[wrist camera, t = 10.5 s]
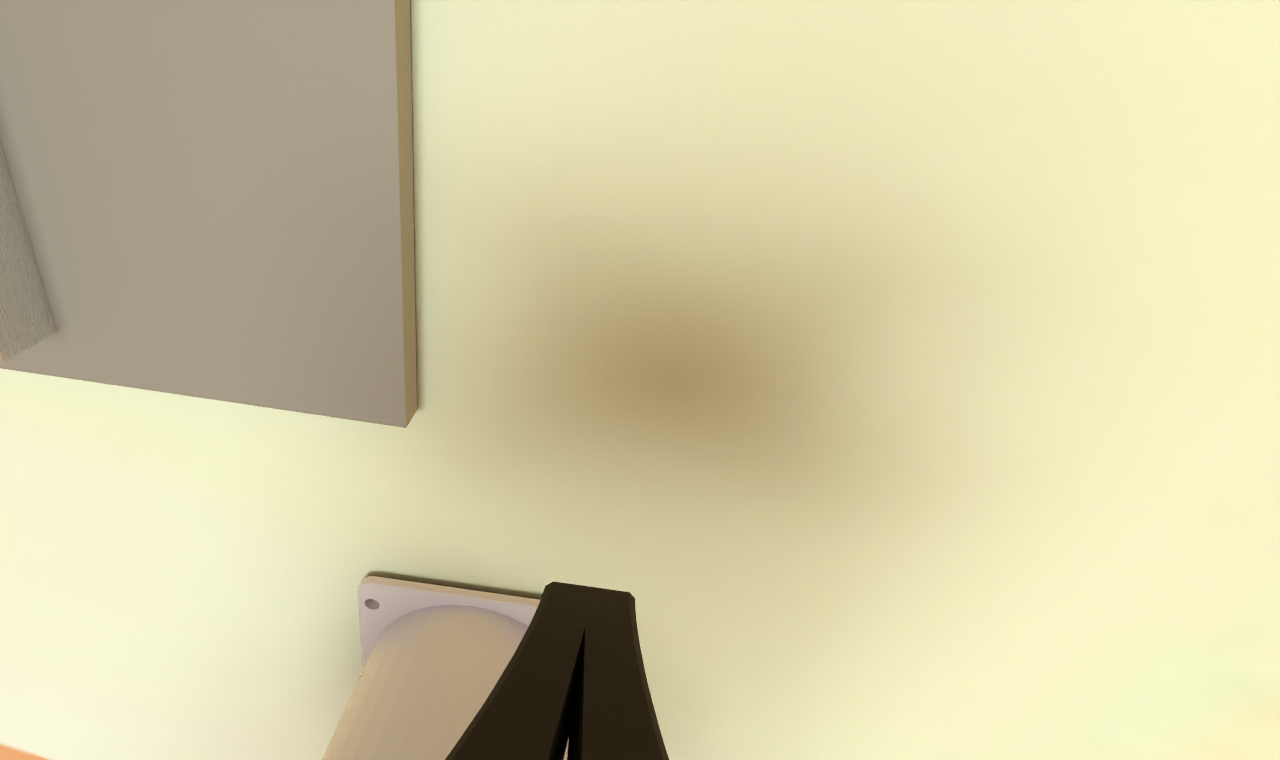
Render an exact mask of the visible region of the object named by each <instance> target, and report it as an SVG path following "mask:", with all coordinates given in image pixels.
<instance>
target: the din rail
mask: <svg viewBox="0 0 1280 760" xmlns="http://www.w3.org/2000/svg"><path fill="white" fill-rule="evenodd" d="M57 332H58V330H57V327H56V324H55V320H54V317H53V313H52V310H51V307H50V303H49V300H48V296H47V293H46V290H45V286H44V283H43V280H42V276H41V273H40V269H39V266H38V263H37V259H36V256H35V252H34V249H33V246H32V242H31V239H30V235H29V232H28V229H27V225H26V222H25V219H24V215H23V212H22V208H21V205H20V202H19V198H18V195H17V191H16V188H15V185H14V181H13V178H12V174H11V171H10V168H9V164H8V161H7V158H6V154H5V151H4V147H3V144H2V141H1V137H0V362H5V361H7V360H9V359H10V358H12V357H14V356H16V355H18V354H19V353H21V352H23V351H25V350H27V349H28V348H30V347H32V346H34V345H35V344H37V343H39V342H41V341H43V340H44V339H46V338H48V337H50V336H51V335H53V334H55V333H57Z"/></svg>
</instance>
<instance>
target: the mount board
mask: <svg viewBox="0 0 1280 760" xmlns="http://www.w3.org/2000/svg"><path fill="white" fill-rule="evenodd" d="M0 137H1V141H2V144H3V147H4V151H5V154H6V158H7V161H8V164H9V168H10V171H11V174H12V178H13V181H14V185H15V188H16V191H17V195H18V198H19V202H20V205H21V208H22V212H23V215H24V219H25V222H26V225H27V229H28V232H29V235H30V239H31V242H32V246H33V249H34V252H35V256H36V259H37V263H38V266H39V269H40V273H41V276H42V280H43V283H44V286H45V290H46V293H47V296H48V300H49V303H50V307H51V310H52V313H53V317H54V320H55V324H56V327H57V330H58V332H57V333H55V334H53V335H51V336H50V337H48V338H46V339H44V340H43V341H41V342H39V343H37V344H35V345H34V346H32V347H30V348H28V349H27V350H25V351H23V352H21V353H19V354H18V355H16V356H14V357H12V358H10V359H9V360H7V361H5V362H0V368H2V369H9V370H16V371H23V372H30V373H37V374H43V375H50V376H57V377H64V378H71V379H77V380H84V381H91V382H98V383H105V384H112V385H118V386H125V387H132V388H139V389H146V390H152V391H159V392H166V393H173V394H180V395H187V396H193V397H200V398H207V399H214V400H221V401H227V402H234V403H241V404H248V405H255V406H262V407H268V408H275V409H282V410H289V411H296V412H302V413H309V414H316V415H323V416H330V417H337V418H343V419H350V420H357V421H364V422H371V423H377V424H384V425H391V426H398V427H405V428H406V427H407V425H408V424H409V422H410V420H411V419H412V417H413V415H414V414H415V412H416V411H417V370H416V311H415V251H414V192H413V133H412V74H411V15H410V0H0Z"/></svg>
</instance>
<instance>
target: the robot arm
mask: <svg viewBox="0 0 1280 760" xmlns="http://www.w3.org/2000/svg"><path fill="white" fill-rule="evenodd" d="M372 599H374V600H372ZM375 600H376V601H375ZM358 603H359V616H360V629H361V642H362V654H363V667H364V670H363V672H362V675H361V677H360V679H359V681H358V683H357V685H356V688H355V690H354V692H353V694H352V696H351V698H350V701H349V703H348V705H347V707H346V709H345V711H344V713H343V716H342V718H341V720H340V722H339V724H338V726H337V729H336V731H335V733H334V735H333V737H332V739H331V742H330V744H329V746H328V748H327V750H326V752H325V754H324V757H323V759H322V760H566V756H567V749H568V756H567V760H669V758H668V755H667V752H666V749H665V746H664V742H663V739H662V736H661V732H660V729H659V725H658V721H657V718H656V714H655V710H654V706H653V703H652V699H651V695H650V691H649V687H648V683H647V679H646V674H645V670H644V665H643V660H642V654H641V649H640V644H639V637H638V631H637V623H636V612H635V598H634V597H633V596H632V595H631V594H630V593H629V592H623V591H616V590H609V589H602V588H595V587H588V586H581V585H574V584H566V583H559V582H552V583H550V584H548V585H546V586H545V589H544V592H543V595H542V598H541V600H539V599H532V598H525V597H518V596H511V595H504V594H497V593H490V592H483V591H476V590H469V589H462V588H455V587H447V586H440V585H433V584H426V583H419V582H412V581H405V580H398V579H391V578H384V577H377V576H369V577H366V578H364V579H363V580H362V581H361V583H360V585H359V587H358Z"/></svg>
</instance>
